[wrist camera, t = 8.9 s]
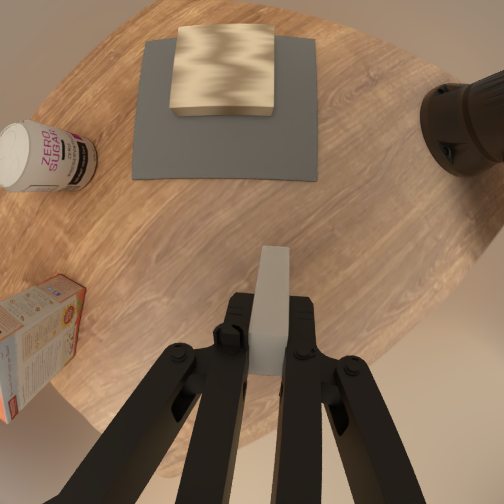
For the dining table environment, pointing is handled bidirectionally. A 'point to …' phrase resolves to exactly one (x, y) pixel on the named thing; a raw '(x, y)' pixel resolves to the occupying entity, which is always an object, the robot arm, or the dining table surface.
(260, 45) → the wooden block
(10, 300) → the cracker box
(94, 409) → the dining table surface
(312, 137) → the mat
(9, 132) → the supplement can
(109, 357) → the dining table surface
